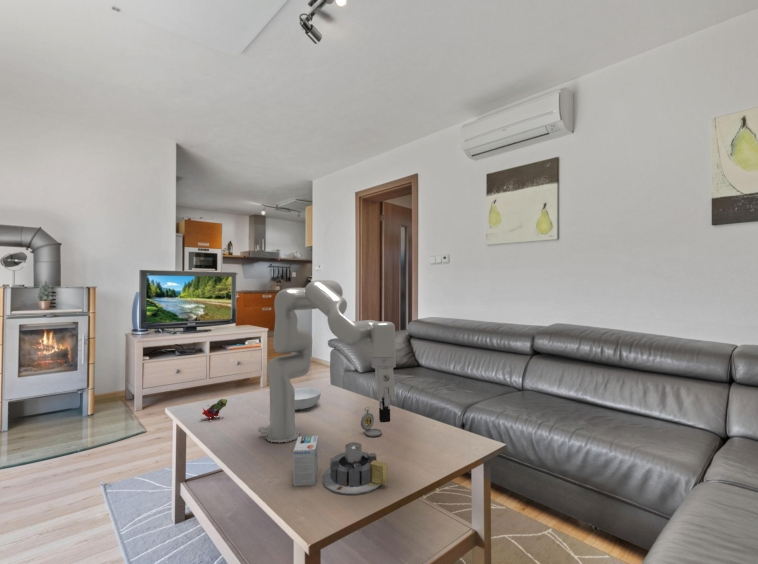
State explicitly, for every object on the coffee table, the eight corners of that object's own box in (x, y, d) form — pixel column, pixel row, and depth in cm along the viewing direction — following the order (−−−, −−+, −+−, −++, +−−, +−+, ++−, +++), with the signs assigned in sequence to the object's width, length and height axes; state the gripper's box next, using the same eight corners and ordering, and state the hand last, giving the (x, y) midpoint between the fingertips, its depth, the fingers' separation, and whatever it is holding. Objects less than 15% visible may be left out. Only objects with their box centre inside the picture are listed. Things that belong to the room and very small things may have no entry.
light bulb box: (297, 469, 124) (297, 436, 124) (318, 468, 124) (318, 435, 125) (292, 486, 113) (292, 449, 113) (315, 485, 114) (315, 448, 114)
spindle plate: (320, 497, 107) (320, 461, 107) (324, 465, 126) (323, 435, 126) (388, 493, 109) (387, 457, 109) (381, 462, 128) (381, 432, 128)
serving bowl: (286, 400, 200) (286, 387, 200) (325, 401, 198) (325, 388, 198) (270, 413, 180) (270, 398, 180) (313, 414, 177) (313, 399, 177)
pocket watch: (380, 438, 149) (379, 412, 149) (359, 436, 151) (358, 411, 151) (384, 430, 157) (383, 405, 157) (364, 429, 159) (363, 404, 159)
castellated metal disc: (329, 487, 110) (329, 469, 110) (331, 464, 124) (331, 448, 124) (387, 484, 111) (387, 466, 111) (382, 462, 126) (382, 446, 126)
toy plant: (219, 429, 172) (230, 412, 168) (196, 423, 168) (207, 405, 164) (221, 415, 179) (233, 398, 175) (200, 409, 175) (211, 391, 171)
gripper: (399, 365, 112) (401, 429, 112) (391, 357, 127) (392, 413, 127) (374, 367, 111) (375, 430, 111) (369, 358, 126) (370, 414, 126)
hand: (384, 421), depth 119 cm, fingers closed
